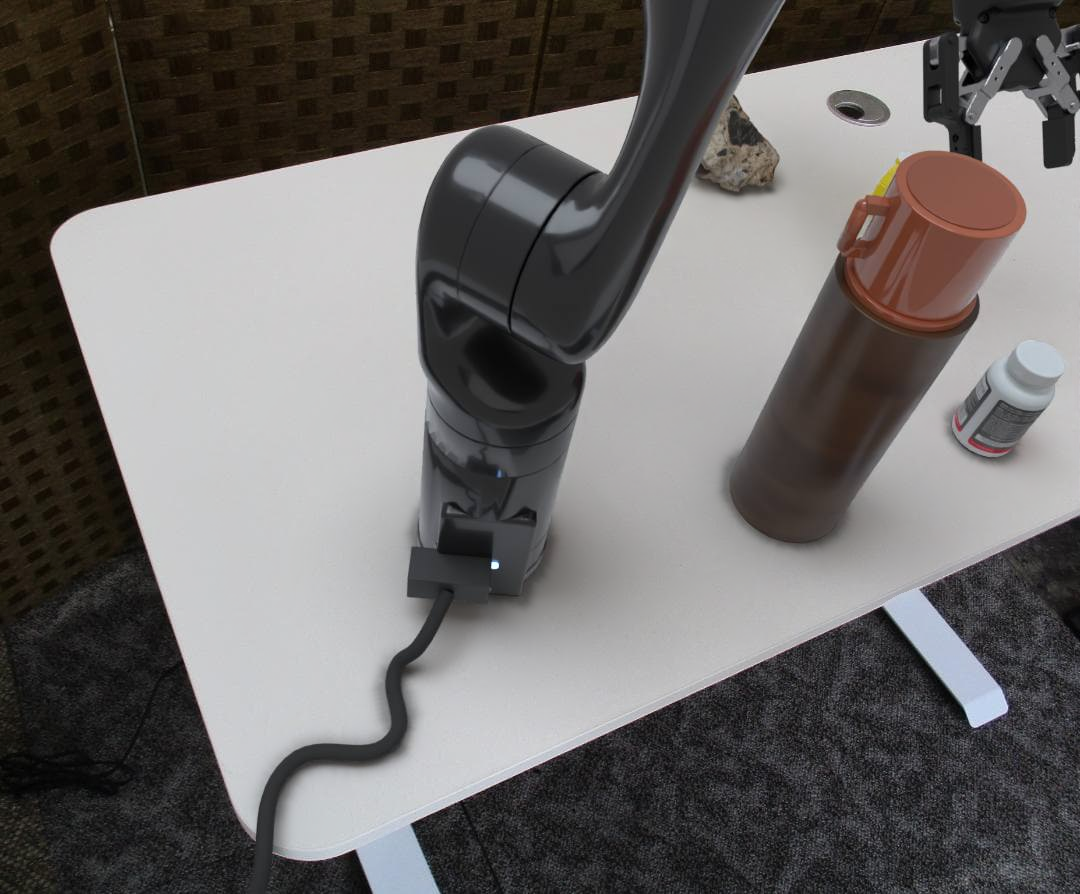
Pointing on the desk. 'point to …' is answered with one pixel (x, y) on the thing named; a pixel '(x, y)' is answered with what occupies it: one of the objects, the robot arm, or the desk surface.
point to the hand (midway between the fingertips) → (1014, 172)
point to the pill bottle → (1008, 399)
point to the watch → (889, 175)
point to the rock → (738, 152)
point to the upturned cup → (930, 240)
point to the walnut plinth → (834, 412)
